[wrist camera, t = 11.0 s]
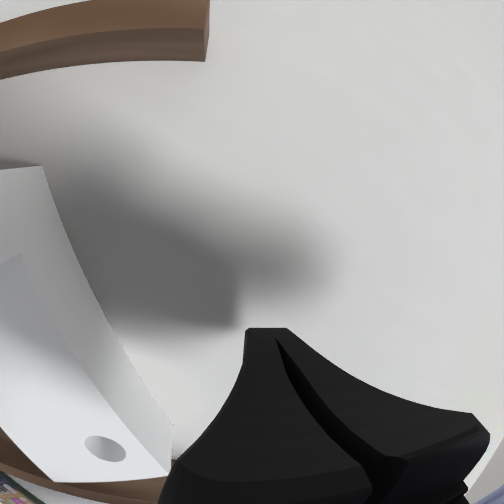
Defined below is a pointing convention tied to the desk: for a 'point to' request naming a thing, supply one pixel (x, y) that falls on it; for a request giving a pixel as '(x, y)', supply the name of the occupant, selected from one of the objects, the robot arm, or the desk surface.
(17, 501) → the smartphone
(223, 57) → the desk surface
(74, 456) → the bracket
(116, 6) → the box
